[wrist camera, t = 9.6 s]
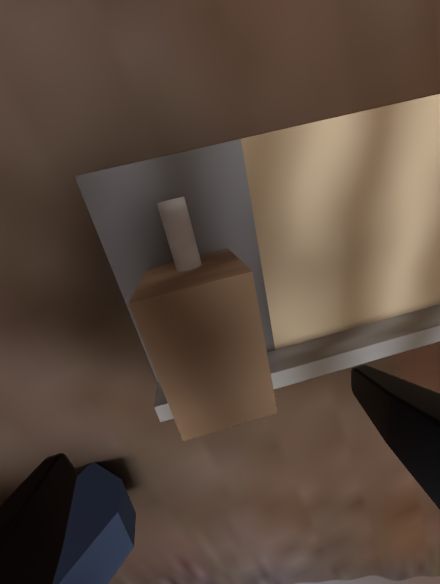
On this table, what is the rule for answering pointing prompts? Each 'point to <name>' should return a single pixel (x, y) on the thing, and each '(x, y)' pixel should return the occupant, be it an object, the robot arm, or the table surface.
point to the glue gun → (96, 529)
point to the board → (300, 231)
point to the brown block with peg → (203, 333)
